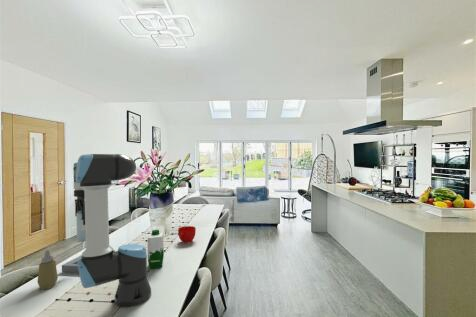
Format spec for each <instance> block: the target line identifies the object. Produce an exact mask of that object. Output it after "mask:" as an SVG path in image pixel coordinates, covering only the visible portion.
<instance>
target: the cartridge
mask: <svg viewBox="0 0 476 317" xmlns="http://www.w3.org/2000/svg"><path fill="white" fill-rule="evenodd" d="M75 217H76V242H78V243H85V242H86V234H85V231H82V224H81V219H82V213H81V211H78V213H76V216H75Z"/></svg>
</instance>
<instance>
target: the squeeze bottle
mask: <svg viewBox="0 0 476 317" xmlns="http://www.w3.org/2000/svg"><path fill="white" fill-rule="evenodd" d="M44 252H45V253H44V256H43V257H42V258H41V262H40V263H39V264H38V273H37V284H38V286H39V289H40V290H48V289H51V288H53V287H55V286H56V283H57V281H58V278H59V276H58V270H57V264H56V260H54V256H53V255H51V254H50V250H49V249H46V250H45V251H44Z"/></svg>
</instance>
